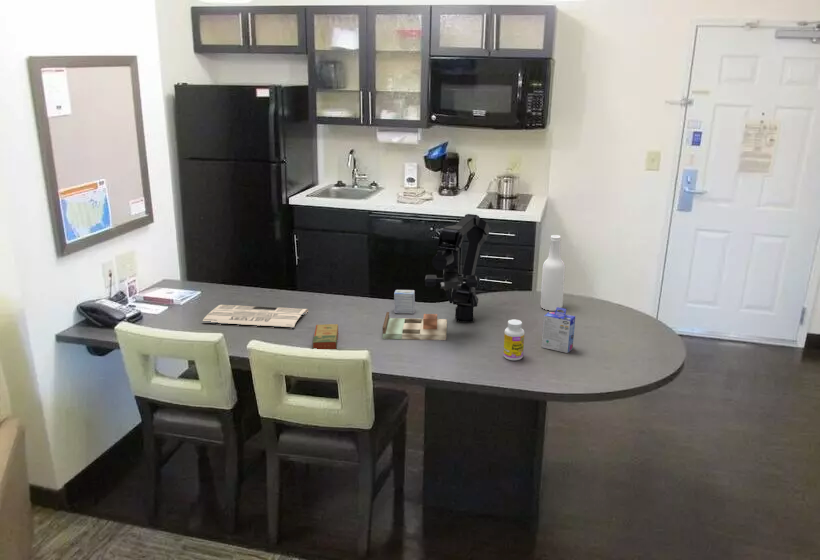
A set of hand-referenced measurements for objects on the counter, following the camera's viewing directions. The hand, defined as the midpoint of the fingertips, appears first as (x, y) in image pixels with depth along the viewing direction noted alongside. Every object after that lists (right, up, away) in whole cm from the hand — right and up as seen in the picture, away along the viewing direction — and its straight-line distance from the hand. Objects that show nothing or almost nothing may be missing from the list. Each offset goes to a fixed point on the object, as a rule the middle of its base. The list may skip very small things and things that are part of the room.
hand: (450, 303), depth 245 cm
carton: (-45, -15, -4) cm, 48 cm away
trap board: (-13, -11, +4) cm, 17 cm away
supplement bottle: (+20, -18, -17) cm, 32 cm away
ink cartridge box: (+37, -16, -11) cm, 41 cm away
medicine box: (-17, -5, +23) cm, 29 cm away
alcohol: (+42, -3, +26) cm, 50 cm away
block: (-7, -9, +3) cm, 12 cm away
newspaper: (-76, -8, +18) cm, 78 cm away
